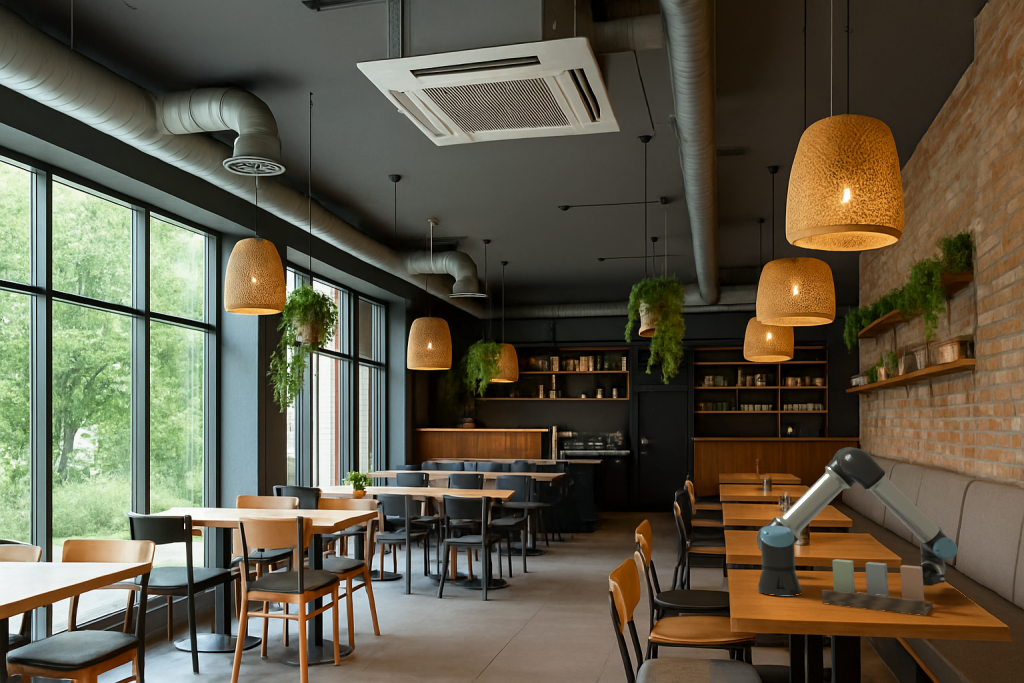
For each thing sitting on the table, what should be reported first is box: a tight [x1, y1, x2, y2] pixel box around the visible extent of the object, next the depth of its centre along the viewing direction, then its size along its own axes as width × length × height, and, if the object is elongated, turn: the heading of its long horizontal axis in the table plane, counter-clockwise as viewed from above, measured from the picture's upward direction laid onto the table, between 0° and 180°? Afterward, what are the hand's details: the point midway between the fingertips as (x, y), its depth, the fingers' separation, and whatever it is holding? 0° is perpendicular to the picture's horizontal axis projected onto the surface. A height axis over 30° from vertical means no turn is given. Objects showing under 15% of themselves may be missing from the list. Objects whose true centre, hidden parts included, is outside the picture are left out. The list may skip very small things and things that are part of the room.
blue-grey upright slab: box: [865, 561, 890, 597], centre depth 278 cm, size 6×4×12 cm, turn 53°
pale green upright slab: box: [831, 558, 856, 593], centre depth 285 cm, size 6×4×12 cm, turn 54°
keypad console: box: [821, 589, 934, 616], centre depth 276 cm, size 32×14×5 cm, turn 53°
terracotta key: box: [899, 564, 925, 601], centre depth 272 cm, size 6×4×12 cm, turn 54°
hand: (915, 584), depth 274 cm, fingers closed
